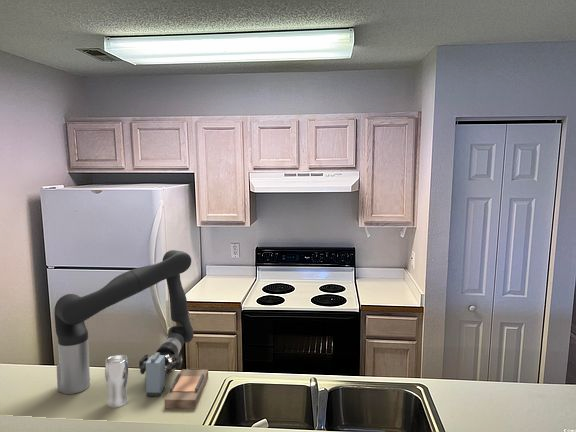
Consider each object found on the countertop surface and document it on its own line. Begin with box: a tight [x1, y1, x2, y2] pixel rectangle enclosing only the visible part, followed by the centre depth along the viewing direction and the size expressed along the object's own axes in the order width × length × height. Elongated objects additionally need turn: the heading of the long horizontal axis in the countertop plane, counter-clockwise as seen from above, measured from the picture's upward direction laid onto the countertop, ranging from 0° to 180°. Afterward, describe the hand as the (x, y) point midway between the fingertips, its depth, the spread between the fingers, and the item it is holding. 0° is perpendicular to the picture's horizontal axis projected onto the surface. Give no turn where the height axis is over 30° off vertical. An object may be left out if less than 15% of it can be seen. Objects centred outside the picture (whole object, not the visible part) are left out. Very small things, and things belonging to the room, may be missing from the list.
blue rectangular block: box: [145, 352, 166, 397], centre depth 134 cm, size 4×6×13 cm
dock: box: [164, 368, 209, 410], centre depth 135 cm, size 10×20×4 cm, turn 0°
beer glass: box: [104, 354, 129, 409], centre depth 128 cm, size 7×7×15 cm
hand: (154, 371), depth 133 cm, fingers open, 8 cm apart
